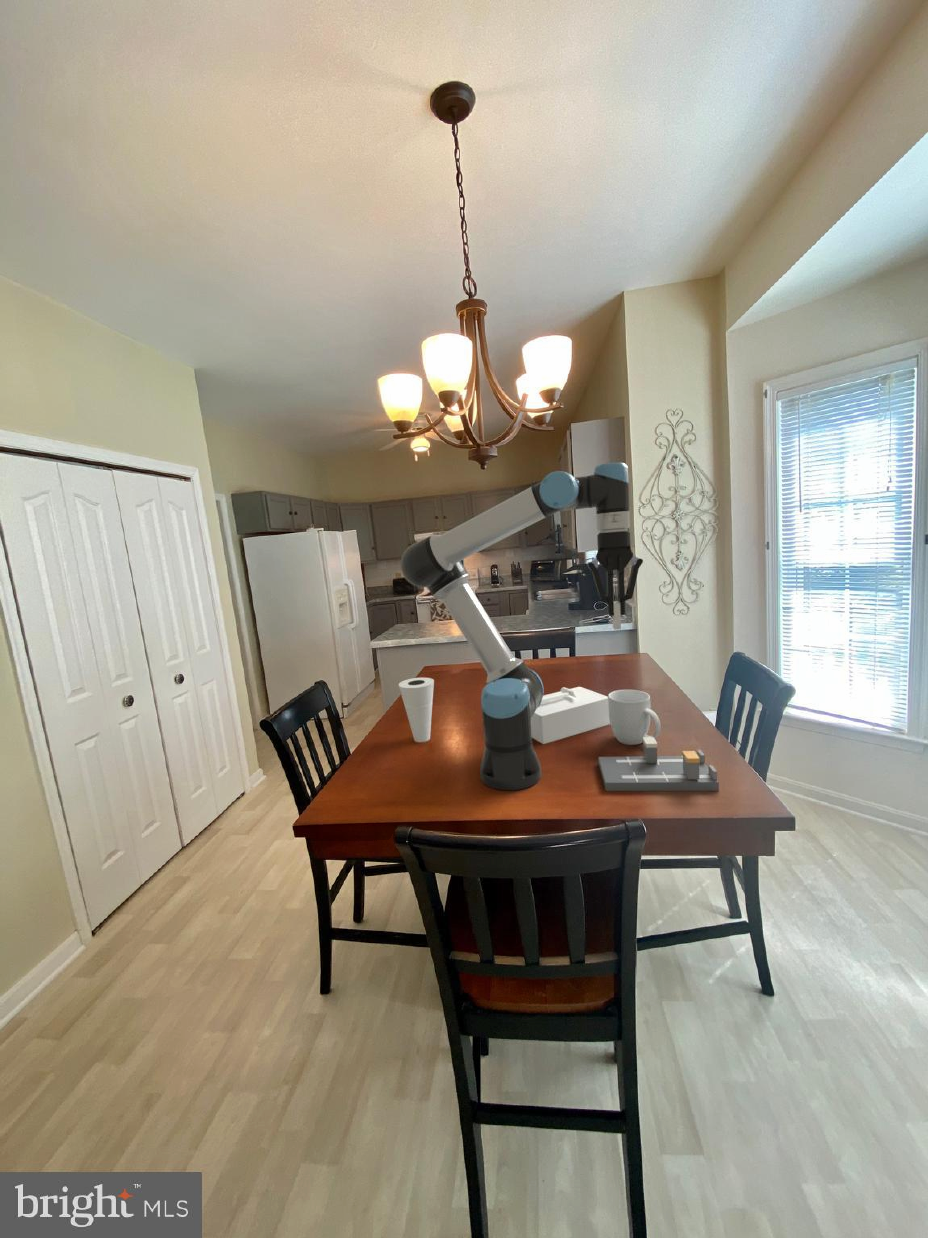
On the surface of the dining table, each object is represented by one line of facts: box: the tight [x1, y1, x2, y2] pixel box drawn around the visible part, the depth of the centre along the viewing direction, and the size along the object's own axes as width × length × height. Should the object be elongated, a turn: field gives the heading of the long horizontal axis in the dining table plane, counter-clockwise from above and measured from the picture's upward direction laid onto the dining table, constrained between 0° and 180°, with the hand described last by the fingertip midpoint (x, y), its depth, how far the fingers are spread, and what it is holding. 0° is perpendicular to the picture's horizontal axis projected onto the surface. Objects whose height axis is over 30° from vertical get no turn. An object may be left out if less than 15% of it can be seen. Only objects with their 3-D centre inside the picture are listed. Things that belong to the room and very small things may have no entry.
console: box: [598, 749, 720, 792], centre depth 113 cm, size 24×13×4 cm, turn 81°
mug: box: [607, 689, 662, 746], centre depth 131 cm, size 15×11×13 cm
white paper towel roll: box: [398, 677, 435, 743], centre depth 146 cm, size 11×11×18 cm
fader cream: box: [642, 737, 659, 763], centre depth 117 cm, size 3×4×5 cm
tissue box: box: [531, 686, 611, 745], centre depth 147 cm, size 14×25×11 cm, turn 115°
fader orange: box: [681, 750, 700, 779], centre depth 108 cm, size 3×4×5 cm
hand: (616, 628), depth 118 cm, fingers closed
